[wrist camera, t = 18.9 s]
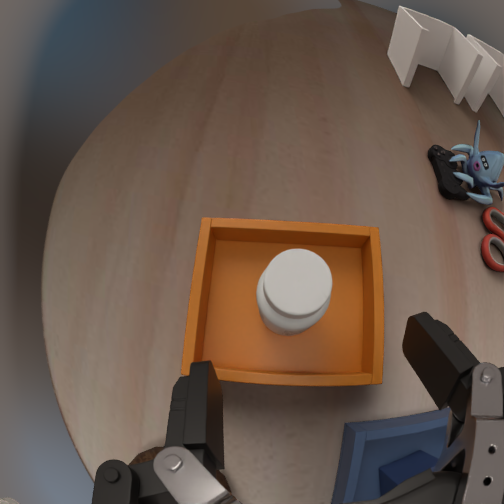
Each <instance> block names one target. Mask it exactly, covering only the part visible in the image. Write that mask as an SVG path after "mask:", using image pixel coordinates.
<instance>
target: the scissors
mask: <svg viewBox="0 0 504 504" xmlns="http://www.w3.org/2000/svg"><path fill="white" fill-rule="evenodd" d="M491 215H493V216H494V217H495V218H497V219H498V220H499V221H500V222H501V223H502V224H503V225H504V214H503V213H502V212H501V211H500V210H498V209H497V208H495V207H488V208H486V209H485V210H484V212H483V222H484V224H485V226H486V227H487V229H488V230H490V231H491V232H492V233H493V234H488V235H486V236H485V237H484V239H483V241H482V246H481V251H482V256H483V258H484V261H485V262H486V264H487V265H488V266H489V267H490V268H491V269H493V270H495V271H499V272H504V264H502V263H499V262H497V261H496V260H495V259H494V258H493V257H492V255H491V252H490V243H493V244H495V245H496V246H497V247H498V248H499V249H500V251H501V252H502V254H503V256H504V231H503V230H502V229H500V228H499V227H498V226H497V225H496V224H495V223H493V221H492V220H491Z"/></svg>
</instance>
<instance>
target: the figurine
mask: <svg viewBox="0 0 504 504" xmlns="http://www.w3.org/2000/svg"><path fill="white" fill-rule="evenodd" d="M479 133H480V120H478V124H477V128H476V132H475V138H474V146H473V147H472V146H470V145H467V144H459V145H456V146H453V147H452V148H451V149H452V150H456V151H461V152H466V153H468V155H469V159H468V160H466V157H465V156H464V155H460V154H458V155H456V156H455V155H454V153H452V152H451V151H448V150H445V149H444V148H442V147H441V146H439V145H433V146H432V147H431V148H430V149H429V151H428V158H429V160H430V161H431V162H432V165H433V167H434V170H435V173H436V177H437V180H438V183H439V184H438V188H439V191H440V193H441V194H442V195H443V196H444V197H445V198H447V199H454V198H457V199H460V200H468V199H469V198H470V197H471V198H472V199H474V200H475V201H477V202H479V203H481V204H487V205H490V204H492V197H491V195H490V192H489V190H497V191H498V193H499V196H500V198H501V201H502V199H503V195H504V194H503V188H502V187H503V186H504V182H500V183H496V181H497V180H498V178H499V175H500V173H501V170H502V167H503V165H504V154H503V153H501V152H499V151H482V152H479V150H478V143H479ZM457 161H461V166H462V171H463V173H464V174H463V173H460V172H458V171H456V168H457V166H458V165H457ZM470 176H471V177H470ZM463 181H466V182H467V184H468V188H469V189H471V188H475V187H476V186H478V188H479V189H480V191H481V194H482V195H478V194H473V193H468V192H467V191H466V190H464V189H463V188H462V187H461V186H460V185H461V184H462V182H463Z"/></svg>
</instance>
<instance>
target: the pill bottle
mask: <svg viewBox="0 0 504 504" xmlns="http://www.w3.org/2000/svg"><path fill="white" fill-rule="evenodd" d="M331 290H332V275H331V272H330V269H329V267H328V265H327V264H326V262H325V261H324V260H323V259H322V258H321V257H320V256H318V255H317V254H315V253H314V252H311V251H309V250H305V249H290V250H286V251H284V252H282V253H280V254H278V255H277V256H276V257H275V258H273V260H272V261H271V262H270V263H269V265H268V266H267V268H266V269H265V270H264V272H263V273H262V275H261V277H260V279H259V281H258V285H257V291H256V298H257V305H258V309H259V313H260V316H261V319H262V321H263V323H264V324H265V325H266V326H267V328H269V329H270V330H271V331H273V332H274V333H276V334H279V335H283V336H293V335H297V334H300V333H302V332H304V331H306V330H307V329H308V328H310V327H311V326H313V325H314V324H315V323H316V322H318V321H319V320H320V319H321V318H322V316H323V315H324V314H325V312H326V310H327V308H328V306H329V303H330V297H331Z"/></svg>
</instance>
